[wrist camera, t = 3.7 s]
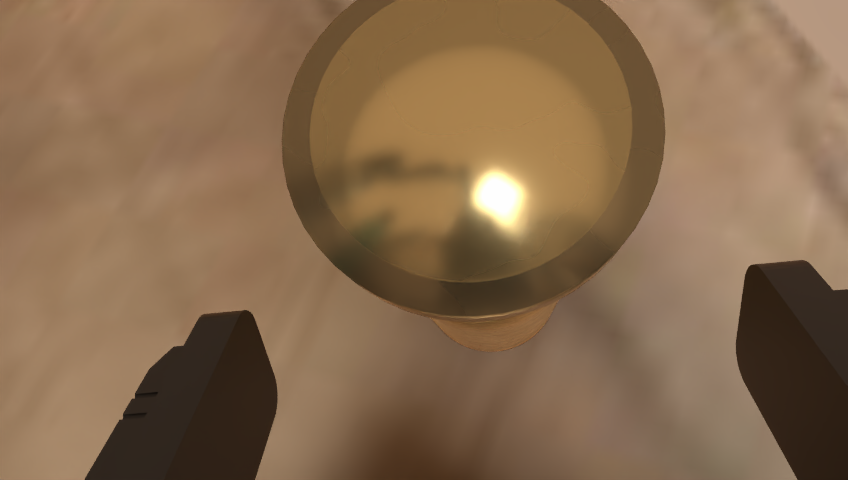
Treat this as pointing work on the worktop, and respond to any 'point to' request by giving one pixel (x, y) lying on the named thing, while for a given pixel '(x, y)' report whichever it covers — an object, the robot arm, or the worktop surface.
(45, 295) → the worktop surface
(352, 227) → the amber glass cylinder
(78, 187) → the worktop surface
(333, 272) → the worktop surface
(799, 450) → the robot arm
